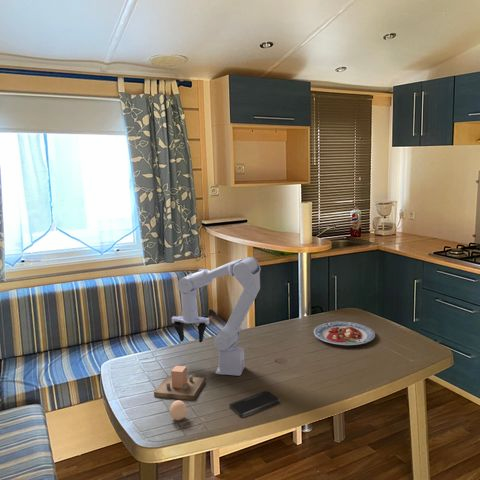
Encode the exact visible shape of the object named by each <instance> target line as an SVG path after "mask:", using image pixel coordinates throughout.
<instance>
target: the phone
mask: <svg viewBox="0 0 480 480" xmlns="http://www.w3.org/2000/svg"><path fill="white" fill-rule="evenodd" d="M278 404H280V399H279V398H278V397H277V396H275V395H274V394H273V393H271V392H270V391H268V390H264V391H261V392H259V393H256V394H253V395H250V396H248V397H244V398H243V399H239V400H236V401H233V402H231V403H230V404H229V409H230V410H231V411H232V412H233V413H235V414H236V416H237V417H239V418H245V417H248V416H250V415H253V414H255V413H258V412H260V411H263V410H267V409H268V408H271V407H274V406H276V405H278Z"/></svg>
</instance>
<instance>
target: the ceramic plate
mask: <svg viewBox="0 0 480 480" xmlns="http://www.w3.org/2000/svg"><path fill="white" fill-rule="evenodd" d="M361 334H362V335H361ZM313 335H314V336H315V338H317V339H318V340H320V341H322V342H325V343H329V344H333V345H340V346H359V345H363V344H367V343H369V342H371V341H373V340H374V339H375V337H376V333H375V331H374V330H373V329H372V328H370V327H368V326H366V325H363V324H360V323H356V322H351V321H331V322H326V323H322V324H320V325H318V326H316V327H315V328H314V330H313ZM361 338H362V339H361ZM359 340H360V341H359ZM354 341H355V342H354Z"/></svg>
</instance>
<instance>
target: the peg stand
mask: <svg viewBox="0 0 480 480" xmlns="http://www.w3.org/2000/svg"><path fill="white" fill-rule="evenodd" d="M205 383H206V378H205V377H196V376H195V377H194V375H192V374H191V375H189V376H187V384H183V388H173V387H172V376H171V375H169V374H167V375H166V377H165V378H164V379H163V380H162V381H161V382H160V384H159V386H158V387H157V388H156V389H155V390H154V391H153V396H154V397H156V398H157V397H158V398H168V399H178V400H189V401H195V399H196V398H197V396H198V394H199V393H200V392H201V389H202V388H203V386H204V384H205Z"/></svg>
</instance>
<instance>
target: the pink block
mask: <svg viewBox="0 0 480 480" xmlns="http://www.w3.org/2000/svg"><path fill="white" fill-rule="evenodd" d="M187 371H188V367H187V366H185V365H183V366H182V365H175V366H174V367H173V368H172V370H171V371H170V374H171V376H172V387H173V388H183V384H187V377H188V372H187Z"/></svg>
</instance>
